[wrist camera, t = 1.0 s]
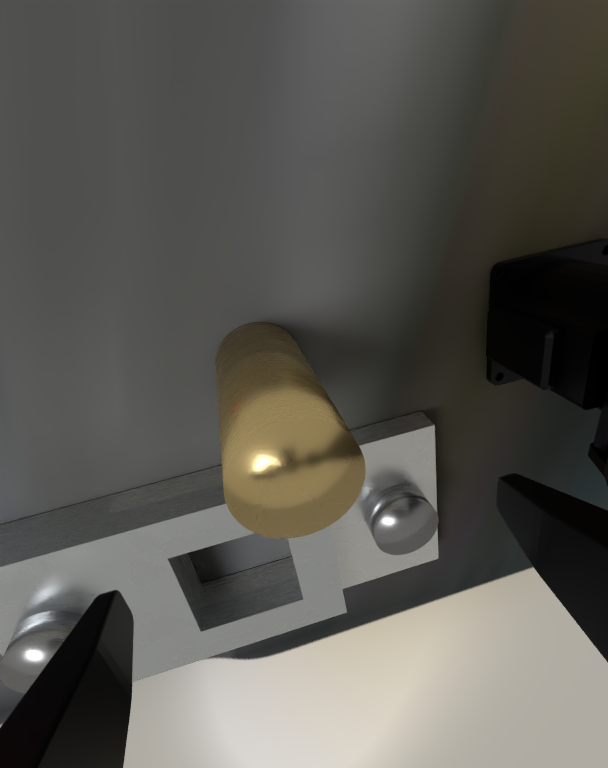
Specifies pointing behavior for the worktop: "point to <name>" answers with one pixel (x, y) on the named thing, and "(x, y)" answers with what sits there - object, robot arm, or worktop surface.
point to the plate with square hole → (200, 530)
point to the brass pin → (281, 437)
